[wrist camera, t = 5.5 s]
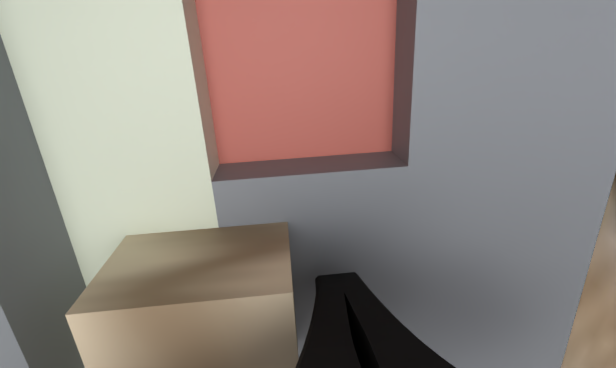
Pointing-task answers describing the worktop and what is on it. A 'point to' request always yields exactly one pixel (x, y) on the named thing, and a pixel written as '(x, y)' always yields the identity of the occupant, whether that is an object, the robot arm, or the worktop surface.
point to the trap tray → (314, 155)
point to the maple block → (191, 301)
